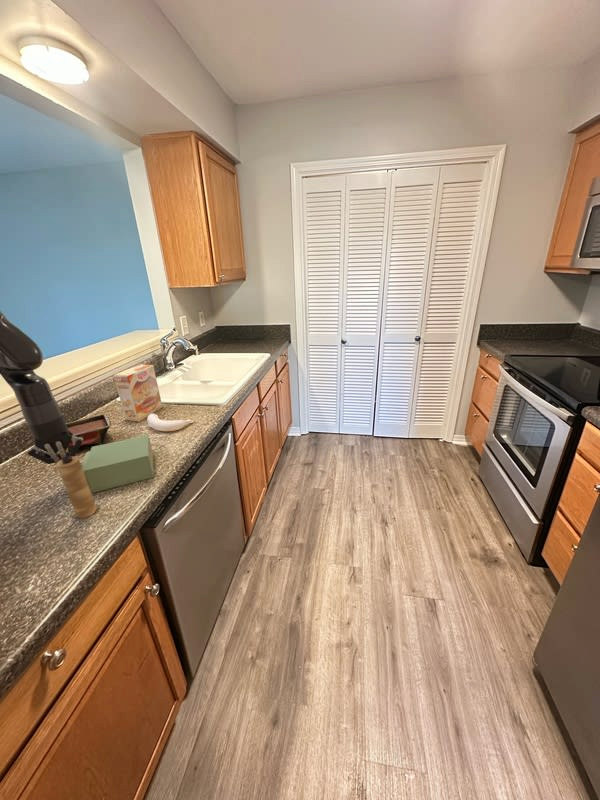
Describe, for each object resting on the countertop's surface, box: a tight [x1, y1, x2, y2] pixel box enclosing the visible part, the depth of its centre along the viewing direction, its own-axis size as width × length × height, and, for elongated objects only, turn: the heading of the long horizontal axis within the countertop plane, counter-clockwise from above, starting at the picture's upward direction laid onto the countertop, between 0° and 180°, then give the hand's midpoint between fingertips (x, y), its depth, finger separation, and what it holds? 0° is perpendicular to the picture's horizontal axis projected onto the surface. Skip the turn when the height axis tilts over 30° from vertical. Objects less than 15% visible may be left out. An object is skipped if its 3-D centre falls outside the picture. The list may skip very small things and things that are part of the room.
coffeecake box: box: [113, 364, 163, 422], centre depth 134 cm, size 15×7×20 cm, turn 164°
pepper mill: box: [56, 455, 98, 519], centre depth 78 cm, size 4×4×16 cm
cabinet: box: [84, 434, 155, 494], centre depth 96 cm, size 16×14×7 cm
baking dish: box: [65, 413, 112, 453], centre depth 114 cm, size 14×18×10 cm
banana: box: [146, 413, 195, 432], centre depth 126 cm, size 5×19×15 cm
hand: (68, 472), depth 91 cm, fingers closed
